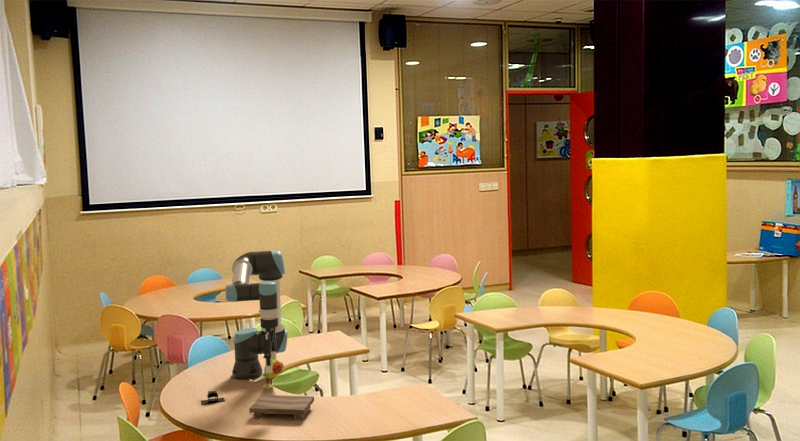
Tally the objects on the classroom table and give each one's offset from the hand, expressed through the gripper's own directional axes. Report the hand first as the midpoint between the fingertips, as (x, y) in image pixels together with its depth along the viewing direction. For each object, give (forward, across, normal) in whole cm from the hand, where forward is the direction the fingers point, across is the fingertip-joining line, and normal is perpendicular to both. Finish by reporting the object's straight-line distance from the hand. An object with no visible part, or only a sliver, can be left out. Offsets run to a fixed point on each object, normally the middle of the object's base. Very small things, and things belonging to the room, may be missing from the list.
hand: (271, 369), depth 309 cm
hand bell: (+20, -20, -6) cm, 29 cm away
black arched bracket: (+20, -16, -31) cm, 40 cm away
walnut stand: (+20, 0, +4) cm, 20 cm away
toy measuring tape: (+3, +3, -1) cm, 4 cm away
